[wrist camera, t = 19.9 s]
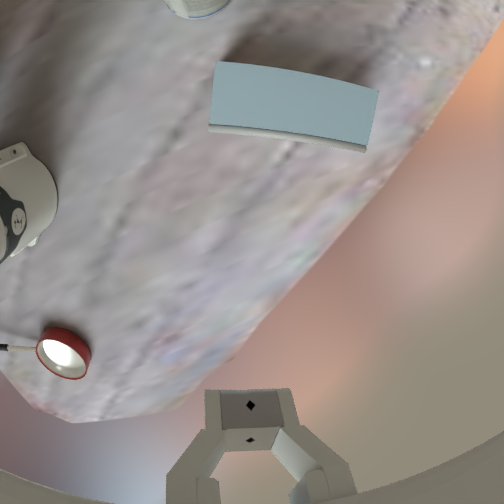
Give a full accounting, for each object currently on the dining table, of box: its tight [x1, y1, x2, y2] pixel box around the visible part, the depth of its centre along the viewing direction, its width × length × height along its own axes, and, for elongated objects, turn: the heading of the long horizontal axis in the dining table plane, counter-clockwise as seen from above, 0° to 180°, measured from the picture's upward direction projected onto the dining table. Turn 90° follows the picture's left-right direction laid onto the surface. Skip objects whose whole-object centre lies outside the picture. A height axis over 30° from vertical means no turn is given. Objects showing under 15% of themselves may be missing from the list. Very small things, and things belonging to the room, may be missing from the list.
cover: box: [208, 61, 379, 153], centre depth 33 cm, size 20×9×1 cm, turn 83°
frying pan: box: [0, 328, 91, 380], centre depth 55 cm, size 32×13×6 cm, turn 88°
